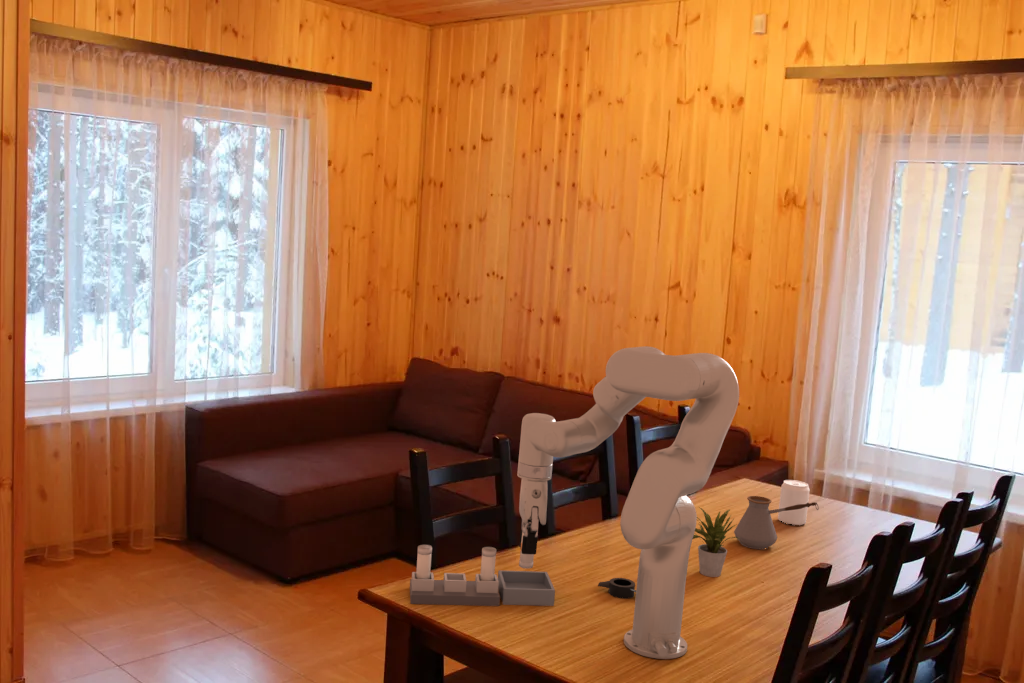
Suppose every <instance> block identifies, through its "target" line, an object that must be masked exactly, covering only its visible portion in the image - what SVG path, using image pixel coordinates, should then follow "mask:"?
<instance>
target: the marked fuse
mask: <svg viewBox="0 0 1024 683" xmlns="http://www.w3.org/2000/svg"><path fill="white" fill-rule="evenodd" d="M529 527H531V526H528V528H529ZM521 530H522V541H523V536H524V534H525V525H523V528H522V529H521ZM522 541H521V548H520V554H519V562H518V567H520V568H521V569H527V570H528V569H533V567H534V557H535V554H522Z"/></svg>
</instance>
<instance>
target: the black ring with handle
mask: <svg viewBox="0 0 1024 683" xmlns="http://www.w3.org/2000/svg"><path fill="white" fill-rule="evenodd" d="M597 587H601V588H607V589H608V594H609V595H610V596H611V597H613V598H617V599H622V600H623V599H625V600H627V599H631V598H634V597H635V593H636V589H635V588H636V582H634V580H631V579H629V578H625V577H613V578H611V579H609V580H605V581H600V582H598V585H597Z"/></svg>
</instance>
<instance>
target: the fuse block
mask: <svg viewBox="0 0 1024 683" xmlns="http://www.w3.org/2000/svg"><path fill="white" fill-rule="evenodd" d="M480 575H481V573H475V578H474V579H475V580H467V577H466V573H461V572H460V573H458V572H456V573H454V572H444V573H443V579H435V576H434V572H431V571H430V579H416V571H412V572H411V578H410V580H409V598H410V599H409V600H410V602H409V603H410V605H413V604H414V605H440V606H441V605H443V606H445V605H446V606H448V605H449V606H453V605H454V606H477V607H478V606H479V607H481V606H485V607H488V606H489V607H500V599H501V596H500V593H499V589H498V585H499V581H498V574H495V573H494V581H480Z"/></svg>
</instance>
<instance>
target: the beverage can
mask: <svg viewBox="0 0 1024 683" xmlns="http://www.w3.org/2000/svg"><path fill="white" fill-rule="evenodd" d="M810 491H811V490H810V486H809V483H807V482H804V481H801V480H794V479H785V480H783V483H782V484H781V488H780V495H779V503H778V504H779V505H778V509H781V508H786V507H790V506H794V505H798V504H807V503H809V499H810ZM808 509H809V507H805V508H802V509H796V510H788V511H781V512H777V514H778V515H777V519H778V521H780V522H781V521H782V522H781V523H783V522H784V523H783V524H785V523H787V524H786V525H788V524H792V525H791V526H795V525H799V526H802V525H805V524H806V523H807V517H808V516H807V515H808Z"/></svg>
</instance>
